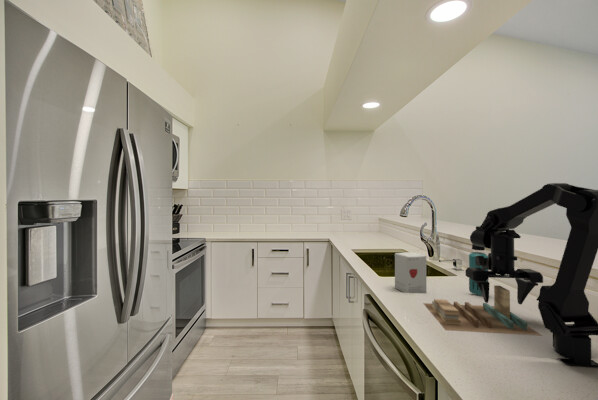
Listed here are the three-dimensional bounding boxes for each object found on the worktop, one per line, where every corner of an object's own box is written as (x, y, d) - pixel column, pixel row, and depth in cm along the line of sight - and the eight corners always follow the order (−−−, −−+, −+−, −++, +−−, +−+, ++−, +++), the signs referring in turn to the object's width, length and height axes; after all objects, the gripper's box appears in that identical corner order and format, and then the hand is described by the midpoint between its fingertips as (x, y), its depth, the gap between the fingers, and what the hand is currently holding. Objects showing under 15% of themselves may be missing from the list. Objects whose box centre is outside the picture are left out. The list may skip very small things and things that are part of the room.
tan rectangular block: (510, 321, 80) (509, 290, 80) (504, 321, 81) (503, 290, 81) (500, 314, 85) (499, 285, 85) (494, 314, 86) (494, 285, 86)
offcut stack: (460, 324, 79) (460, 312, 79) (445, 323, 79) (445, 311, 79) (444, 308, 90) (444, 297, 90) (431, 307, 91) (431, 297, 91)
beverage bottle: (469, 297, 103) (468, 244, 103) (468, 292, 109) (467, 242, 109) (490, 300, 100) (489, 245, 100) (487, 294, 106) (487, 243, 106)
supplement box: (407, 295, 107) (407, 256, 107) (394, 288, 115) (393, 252, 115) (427, 293, 109) (427, 255, 109) (413, 286, 117) (412, 251, 118)
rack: (542, 339, 72) (542, 327, 72) (445, 333, 75) (445, 322, 75) (498, 309, 92) (498, 300, 92) (423, 306, 95) (423, 297, 95)
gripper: (518, 247, 89) (519, 295, 89) (457, 246, 92) (458, 293, 92) (544, 254, 78) (545, 308, 78) (474, 252, 81) (474, 305, 81)
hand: (502, 303), depth 83 cm, fingers open, 9 cm apart
